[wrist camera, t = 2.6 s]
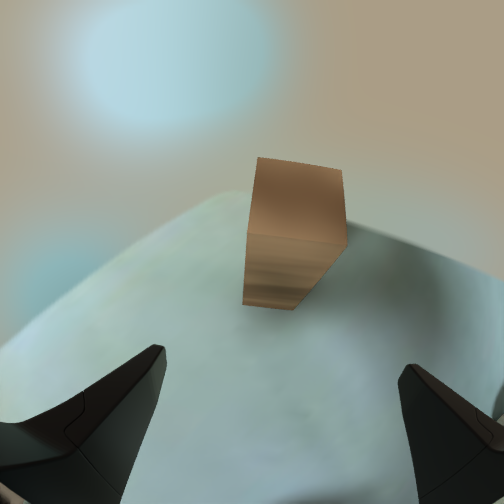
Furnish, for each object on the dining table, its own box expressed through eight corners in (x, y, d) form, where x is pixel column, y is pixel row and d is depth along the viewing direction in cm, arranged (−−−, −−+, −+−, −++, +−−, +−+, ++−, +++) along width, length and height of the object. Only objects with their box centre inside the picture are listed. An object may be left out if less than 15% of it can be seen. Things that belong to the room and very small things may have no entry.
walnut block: (293, 310, 23) (347, 245, 12) (242, 304, 23) (246, 232, 12) (295, 263, 25) (341, 170, 13) (248, 257, 25) (257, 157, 13)
